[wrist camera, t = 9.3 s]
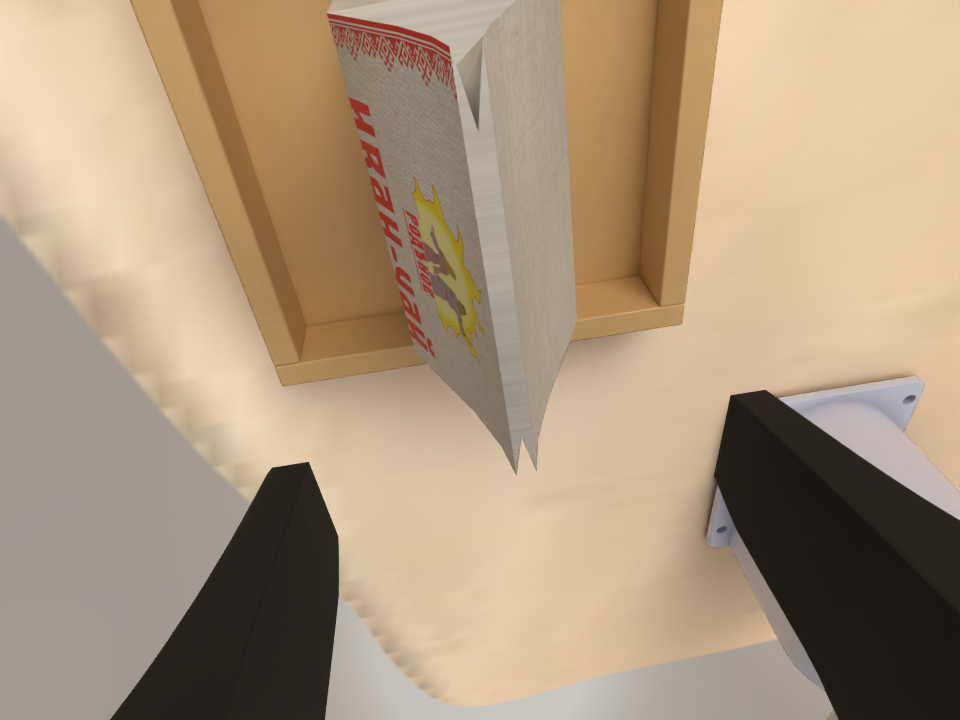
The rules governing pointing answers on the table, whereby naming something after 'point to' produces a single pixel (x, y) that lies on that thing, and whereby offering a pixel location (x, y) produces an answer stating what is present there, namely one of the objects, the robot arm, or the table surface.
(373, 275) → the tray
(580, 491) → the table surface
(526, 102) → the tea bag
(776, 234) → the table surface
